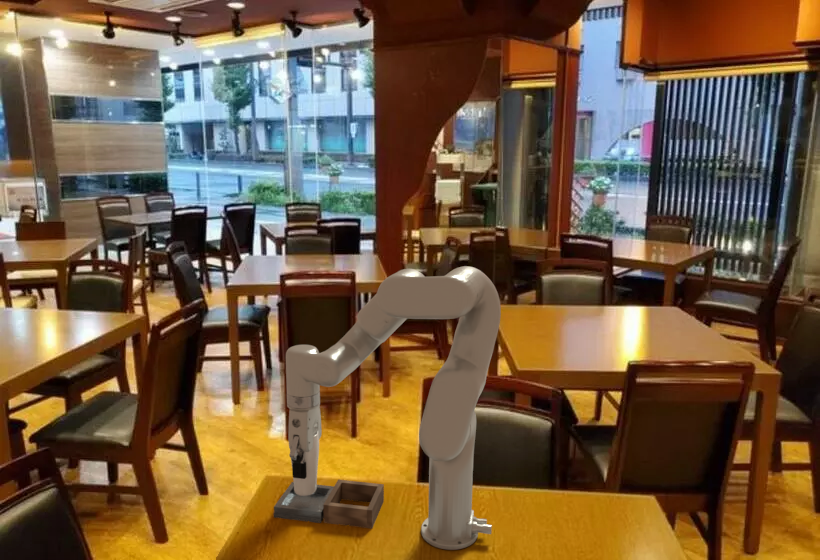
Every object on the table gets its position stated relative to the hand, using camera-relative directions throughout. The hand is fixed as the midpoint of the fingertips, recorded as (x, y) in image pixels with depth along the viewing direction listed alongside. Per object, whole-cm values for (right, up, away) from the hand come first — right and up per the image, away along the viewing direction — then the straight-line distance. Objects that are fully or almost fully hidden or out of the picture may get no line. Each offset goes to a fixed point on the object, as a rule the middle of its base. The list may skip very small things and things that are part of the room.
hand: (305, 469), depth 145 cm
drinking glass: (0, -6, +1) cm, 6 cm away
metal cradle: (0, -9, +2) cm, 9 cm away
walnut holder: (+12, -10, 0) cm, 15 cm away
